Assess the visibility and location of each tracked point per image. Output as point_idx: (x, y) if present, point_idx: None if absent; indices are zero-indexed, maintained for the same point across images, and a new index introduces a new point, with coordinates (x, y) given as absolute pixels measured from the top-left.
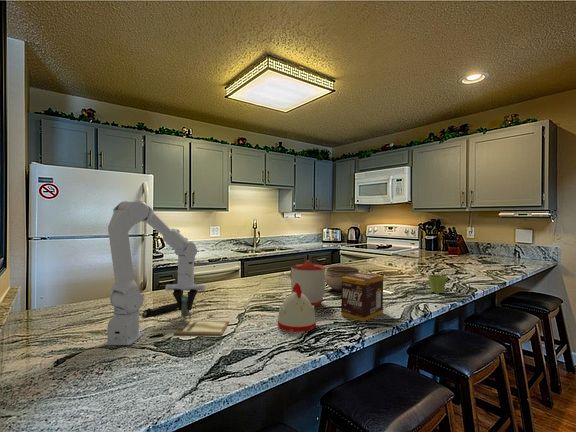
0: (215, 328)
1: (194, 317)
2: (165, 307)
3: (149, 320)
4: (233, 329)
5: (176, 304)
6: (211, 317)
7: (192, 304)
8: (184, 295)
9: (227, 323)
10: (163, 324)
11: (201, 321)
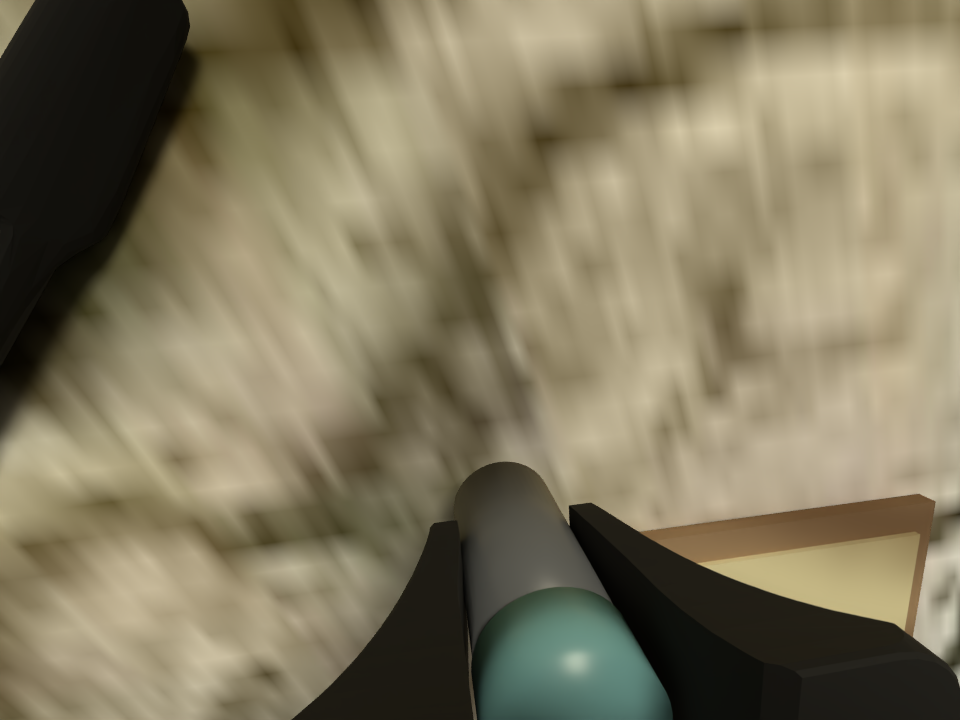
0: None
1: (563, 386)
2: (25, 223)
3: (90, 545)
4: (953, 618)
5: (118, 24)
6: (743, 365)
7: (627, 531)
8: (529, 688)
9: (924, 554)
10: (328, 621)
11: (690, 544)
